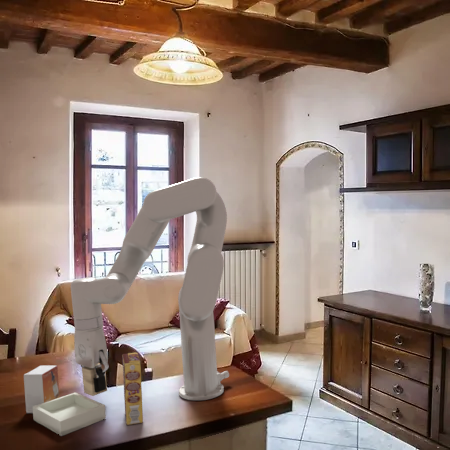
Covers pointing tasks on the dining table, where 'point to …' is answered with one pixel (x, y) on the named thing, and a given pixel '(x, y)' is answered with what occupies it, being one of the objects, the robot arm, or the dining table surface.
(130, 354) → the candy box
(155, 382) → the dining table surface
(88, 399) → the tray
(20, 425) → the dining table surface
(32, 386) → the small box
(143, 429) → the dining table surface
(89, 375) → the birch block
